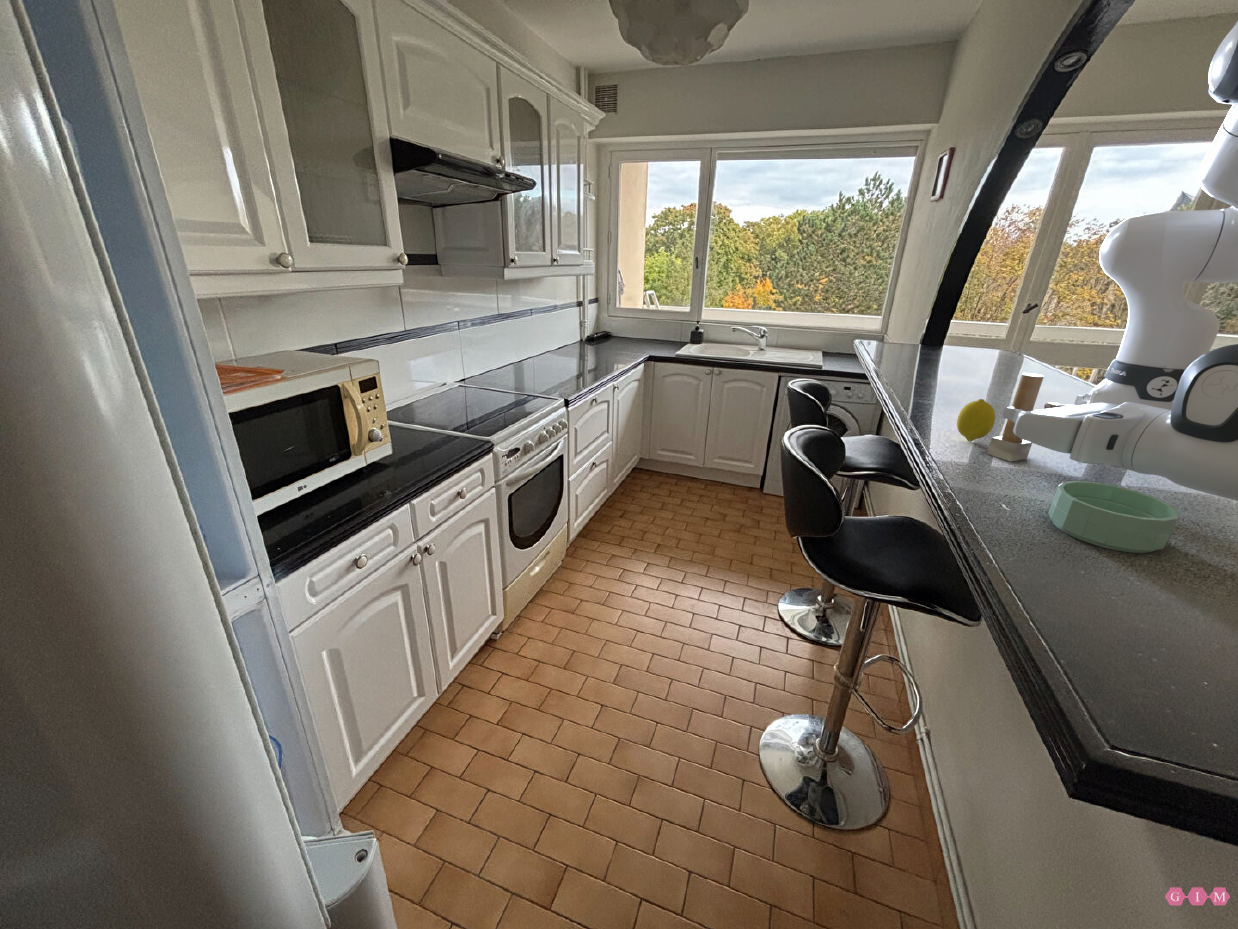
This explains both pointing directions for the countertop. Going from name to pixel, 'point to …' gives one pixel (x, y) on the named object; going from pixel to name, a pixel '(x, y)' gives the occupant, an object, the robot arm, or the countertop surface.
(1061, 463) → the countertop surface
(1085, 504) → the bowl
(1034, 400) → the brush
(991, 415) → the lemon
